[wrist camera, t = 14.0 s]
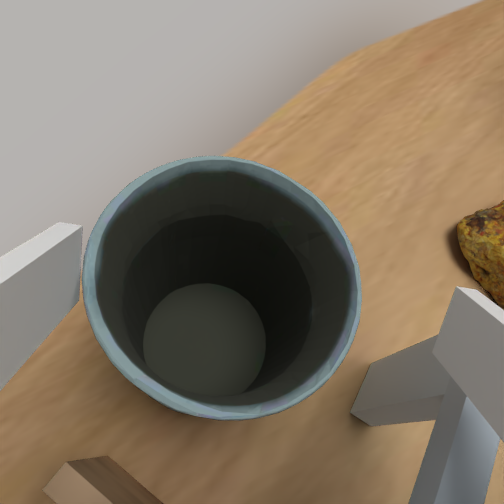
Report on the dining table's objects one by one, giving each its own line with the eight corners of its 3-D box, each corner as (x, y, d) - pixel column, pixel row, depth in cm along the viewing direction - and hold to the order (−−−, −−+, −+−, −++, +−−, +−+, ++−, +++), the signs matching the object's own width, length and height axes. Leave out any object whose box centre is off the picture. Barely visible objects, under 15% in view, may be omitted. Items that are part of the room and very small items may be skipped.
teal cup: (112, 279, 26) (70, 164, 15) (263, 255, 28) (318, 143, 18) (132, 451, 22) (96, 460, 11) (304, 405, 25) (406, 378, 14)
